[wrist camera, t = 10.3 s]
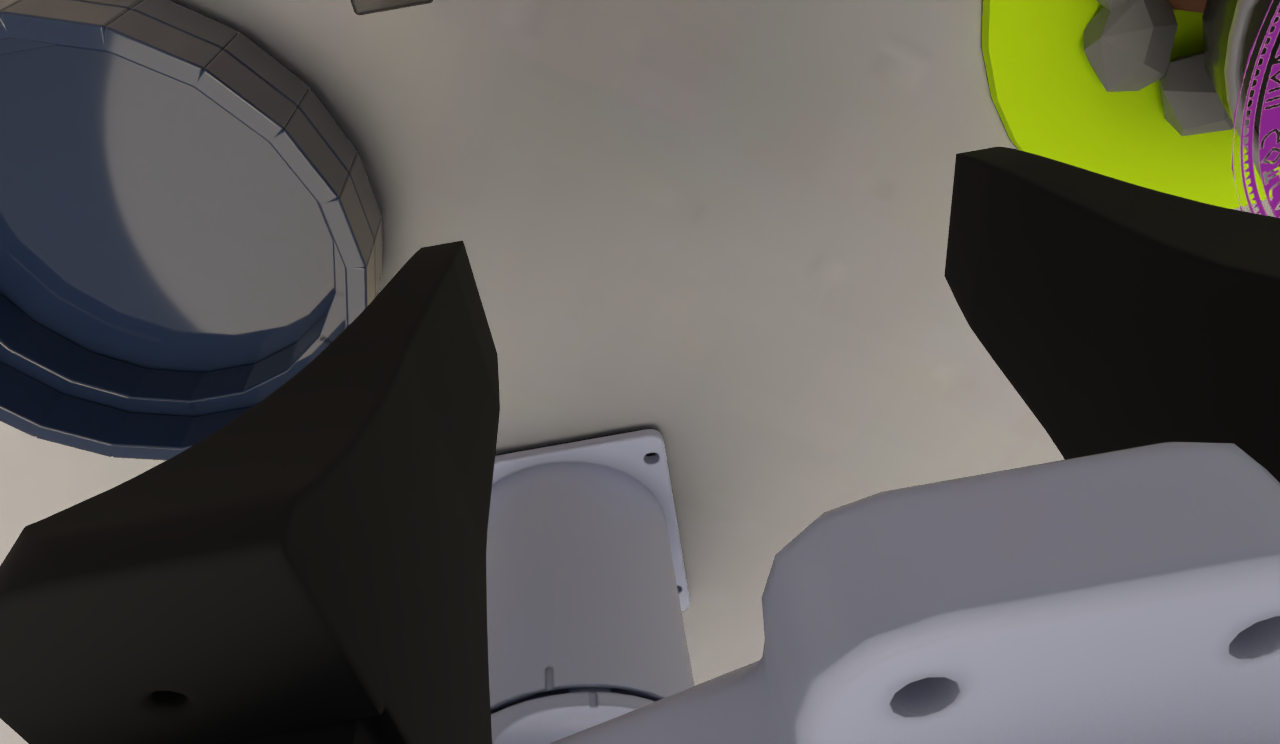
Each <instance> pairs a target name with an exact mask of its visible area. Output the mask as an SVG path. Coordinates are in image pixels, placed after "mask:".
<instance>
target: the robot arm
mask: <svg viewBox="0 0 1280 744" xmlns="http://www.w3.org/2000/svg"><path fill="white" fill-rule="evenodd" d="M945 278H946V280H947V282H948V284H949V286H950V288H951V290H952V292H953V294H954V297H955V299H956V301H957V303H958V305H959V307H960V309H961V311H962V312H963V314H964V316H965V318H966V320H967V322H968V324H969V326H970V327H971V329H972V330H973V332H974V333H975V334H976V336H977V337H978V339H979V340H980V342H981V343H982V344H983V346H984V347H985V348H986V350H987V351H988V353H989V354H990V355H991V357H992V358H993V360H994V361H995V362H996V364H997V365H998V366H999V368H1000V369H1001V370H1002V372H1003V373H1004V375H1005V376H1006V377H1007V379H1008V380H1009V381H1010V383H1011V384H1012V385H1013V387H1014V388H1015V389H1016V391H1017V392H1018V393H1019V395H1020V396H1021V397H1022V399H1023V400H1024V401H1025V403H1026V404H1027V406H1028V407H1029V408H1030V410H1031V411H1032V412H1033V414H1034V415H1035V416H1036V418H1037V419H1038V420H1039V422H1040V423H1041V424H1042V426H1043V427H1044V428H1045V430H1046V431H1047V433H1048V434H1049V436H1050V437H1051V439H1052V440H1053V442H1054V443H1055V445H1056V446H1057V448H1058V449H1059V451H1060V452H1061V454H1062V455H1063V457H1064V459H1065V460H1061V461H1055V462H1050V463H1044V464H1038V465H1033V466H1027V467H1021V468H1015V469H1010V470H1004V471H998V472H993V473H987V474H981V475H976V476H970V477H964V478H958V479H953V480H947V481H941V482H936V483H930V484H924V485H919V486H913V487H907V488H901V489H896V490H890V491H884V492H880V493H877V494H875V495H872V496H869V497H866V498H863V499H861V500H858V501H855V502H852V503H850V504H847V505H844V506H841V507H839V508H836V509H833V510H830V511H827V512H825V513H823V514H822V515H821V516H820V517H818V518H817V519H816V520H815V521H814V522H813V523H812V524H810V525H809V526H808V527H807V528H806V529H805V530H804V531H802V532H801V533H800V534H799V535H798V536H797V537H795V538H794V539H793V540H792V541H791V542H790V543H789V544H787V545H786V546H785V547H784V548H783V549H782V550H781V551H780V552H779V553H778V554H776V555H775V558H774V561H773V565H772V568H771V571H770V574H769V577H768V580H767V583H766V586H765V589H764V592H763V596H762V606H763V619H764V631H765V643H764V650H763V657H762V659H761V660H759V661H757V662H754V663H752V664H749V665H747V666H744V667H742V668H739V669H737V670H734V671H732V672H729V673H727V674H724V675H722V676H719V677H717V678H714V679H711V680H709V681H706V682H704V683H701V684H699V685H696V686H694V681H693V675H692V669H691V664H690V658H689V652H688V647H687V641H686V635H685V629H684V624H683V618H682V612H684V611H685V610H687V609H688V608H689V606H690V597H689V591H688V585H687V579H686V573H685V567H684V561H683V555H682V549H681V542H680V536H679V530H678V524H677V518H676V512H675V506H674V500H673V494H672V487H671V481H670V475H669V469H668V463H667V457H666V451H665V445H664V439H663V436H662V434H661V433H660V432H658V431H657V430H653V429H646V430H640V431H634V432H628V433H623V434H617V435H611V436H606V437H600V438H594V439H589V440H583V441H577V442H571V443H566V444H560V445H554V446H549V447H543V448H537V449H532V450H526V451H520V452H514V453H509V454H503V455H497V456H495V453H496V443H497V433H498V422H499V411H500V403H499V378H498V359H497V352H496V349H495V345H494V342H493V339H492V335H491V332H490V329H489V325H488V322H487V319H486V316H485V312H484V309H483V306H482V302H481V299H480V296H479V292H478V289H477V286H476V282H475V279H474V276H473V272H472V269H471V266H470V263H469V259H468V256H467V253H466V249H465V246H464V243H463V241H458V242H452V243H446V244H441V245H435V246H429V247H424V248H421V249H420V250H418V251H417V252H416V253H415V254H414V255H413V256H412V257H411V258H410V259H409V260H408V262H407V263H406V264H405V265H404V266H403V267H402V268H401V269H400V270H399V272H398V273H397V274H396V275H395V276H394V277H393V278H392V280H391V281H390V282H389V283H388V284H387V285H386V286H385V287H384V289H383V290H382V291H381V292H380V293H379V294H378V295H377V296H376V297H375V298H374V300H373V301H372V302H371V303H370V304H369V305H368V306H367V307H366V308H365V309H364V311H363V312H362V313H361V314H360V315H359V316H358V317H357V318H356V319H355V320H354V321H353V322H352V323H351V324H350V325H349V326H348V327H347V328H346V329H345V330H344V331H343V332H342V333H341V334H340V335H339V336H338V337H337V338H336V339H335V340H334V341H332V342H331V343H330V344H329V345H328V346H327V347H326V348H325V349H324V350H323V351H322V352H321V353H320V354H319V355H318V356H317V357H316V358H315V359H314V360H312V361H311V362H310V363H309V364H308V365H307V366H306V367H304V368H303V369H302V370H301V371H300V372H298V373H297V374H296V375H295V376H294V377H292V378H291V379H290V380H288V381H287V382H286V383H285V384H283V385H282V386H281V387H280V388H278V389H277V390H276V391H274V392H273V393H272V394H271V395H269V396H268V397H267V398H265V399H264V400H262V401H261V402H260V403H258V404H257V405H255V406H254V407H252V408H251V409H249V410H248V411H246V412H245V413H243V414H242V415H240V416H239V417H237V418H236V419H234V420H233V421H231V422H230V423H228V424H227V425H225V426H223V427H222V428H220V429H219V430H217V431H216V432H214V433H213V434H211V435H210V436H208V437H207V438H205V439H203V440H202V441H200V442H199V443H197V444H195V445H193V446H192V447H190V448H188V449H186V450H185V451H183V452H181V453H179V454H178V455H176V456H174V457H172V458H171V459H169V460H167V461H165V462H163V463H161V464H159V465H157V466H155V467H154V468H152V469H150V470H148V471H146V472H144V473H142V474H140V475H138V476H137V477H135V478H133V479H131V480H129V481H126V482H124V483H122V484H120V485H118V486H116V487H114V488H112V489H110V490H108V491H106V492H103V493H101V494H99V495H97V496H94V497H92V498H90V499H88V500H85V501H83V502H81V503H79V504H77V505H74V506H72V507H70V508H68V509H65V510H63V511H61V512H59V513H56V514H54V515H52V516H50V517H48V518H45V519H43V520H40V521H38V522H36V523H33V524H31V525H28V526H26V527H25V528H24V529H23V531H22V532H21V534H20V536H19V537H18V539H17V541H16V542H15V544H14V545H13V547H12V549H11V550H10V552H9V553H8V555H7V556H6V558H5V560H4V561H3V563H2V564H1V566H0V718H1V719H2V720H3V721H4V722H5V723H6V724H8V725H9V726H10V727H11V728H12V729H13V730H14V731H15V732H17V733H18V734H19V735H20V736H21V737H22V738H23V739H24V740H25V741H27V742H28V743H29V744H1280V218H1276V217H1271V216H1265V215H1260V214H1254V213H1249V212H1244V211H1238V210H1233V209H1228V208H1224V207H1219V206H1215V205H1210V204H1206V203H1202V202H1198V201H1194V200H1190V199H1186V198H1182V197H1179V196H1175V195H1171V194H1167V193H1163V192H1159V191H1156V190H1152V189H1149V188H1145V187H1142V186H1138V185H1135V184H1131V183H1128V182H1125V181H1121V180H1118V179H1115V178H1111V177H1108V176H1105V175H1102V174H1098V173H1095V172H1092V171H1089V170H1085V169H1082V168H1079V167H1076V166H1073V165H1069V164H1066V163H1063V162H1060V161H1056V160H1053V159H1050V158H1046V157H1043V156H1039V155H1036V154H1032V153H1028V152H1024V151H1020V150H1016V149H1011V148H1005V147H994V148H988V149H982V150H976V151H971V152H965V153H959V154H956V163H955V174H954V184H953V195H952V205H951V215H950V226H949V236H948V246H947V257H946V267H945ZM648 453H656V454H655V455H653V456H646V454H648Z"/></svg>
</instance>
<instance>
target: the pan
mask: <svg viewBox="0 0 1280 744" xmlns="http://www.w3.org/2000/svg"><path fill="white" fill-rule="evenodd" d="M381 279H382V217H381V213H380V210H379V207H378V204H377V202H376V199H375V196H374V193H373V191H372V188H371V185H370V182H369V180H368V177H367V174H366V171H365V168H364V166H363V163H362V160H361V157H360V155H359V153H358V152H357V150H356V148H355V147H354V146H353V144H352V143H351V142H350V140H349V139H348V138H347V136H346V135H345V134H344V132H343V131H342V130H341V128H340V127H339V125H338V124H337V123H336V121H335V120H334V119H333V117H332V116H331V115H330V113H329V112H328V111H327V109H326V108H325V107H324V105H323V104H322V103H321V101H320V100H319V99H318V97H317V96H316V95H315V93H314V92H313V91H312V90H311V89H309V86H308V85H307V84H305V83H304V82H303V81H302V80H300V79H299V78H298V77H297V76H295V75H294V74H293V73H292V72H290V71H289V70H288V69H287V68H285V67H284V66H283V65H281V64H280V63H279V62H278V61H276V60H275V59H274V58H273V57H271V56H270V55H269V54H268V53H266V52H265V51H264V50H262V49H261V48H260V47H259V46H257V45H256V44H255V43H254V42H252V41H251V40H250V39H249V38H247V37H246V36H245V35H243V34H242V33H240V32H239V33H238V31H237V30H235V29H233V28H231V27H228V26H226V25H224V24H222V23H219V22H217V21H215V20H213V19H210V18H208V17H206V16H204V15H201V14H199V13H197V12H195V11H192V10H190V9H188V8H186V7H183V6H181V5H179V4H177V3H174V2H172V1H170V0H0V421H2V422H4V423H6V424H8V425H10V426H12V427H14V428H16V429H18V430H21V431H23V432H25V433H27V434H29V435H31V436H34V437H35V436H36V437H37V438H39V439H43V440H47V441H51V442H55V443H59V444H62V445H66V446H70V447H74V448H78V449H82V450H86V451H90V452H94V453H97V454H101V455H105V456H109V457H112V456H113V457H116V458H135V459H153V460H169V459H171V458H172V457H174V456H176V455H178V454H179V453H181V452H183V451H185V450H186V449H188V448H190V447H192V446H193V445H195V444H197V443H199V442H200V441H202V440H203V439H205V438H207V437H208V436H210V435H211V434H213V433H214V432H216V431H217V430H219V429H220V428H222V427H223V426H225V425H227V424H228V423H230V422H231V421H233V420H234V419H236V418H237V417H239V416H240V415H242V414H243V413H245V412H246V411H248V410H249V409H251V408H252V407H254V406H255V405H257V404H258V403H260V402H261V401H262V400H264V399H265V398H267V397H268V396H269V395H271V394H272V393H273V392H274V391H276V390H277V389H278V388H280V387H281V386H282V385H283V384H285V383H286V382H287V381H288V380H290V379H291V378H292V377H294V376H295V375H296V374H297V373H298V372H300V371H301V370H302V369H303V368H304V367H306V366H307V365H308V364H309V363H310V362H311V361H312V360H314V359H315V358H316V357H317V356H318V355H319V354H320V353H321V352H322V351H323V350H324V349H325V348H326V347H327V346H328V345H329V344H330V343H331V342H332V341H334V340H335V339H336V338H337V337H338V336H339V335H340V334H341V333H342V332H343V331H344V330H345V329H346V328H347V327H348V326H349V325H350V324H351V323H352V322H353V321H354V320H355V319H356V318H357V317H358V316H359V315H360V314H361V313H362V312H363V311H364V309H365V308H366V307H367V306H368V305H369V304H370V303H371V302H372V301H373V300H374V298H375V297H376V296H377V294H378V290H379V286H380V282H381Z"/></svg>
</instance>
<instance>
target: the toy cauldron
mask: <svg viewBox="0 0 1280 744" xmlns="http://www.w3.org/2000/svg"><path fill="white" fill-rule="evenodd" d="M982 50H983V56H984V61H985V67H986V72H987V77H988V83H989V88H990V94H991V98H992V100H993V102H994V105H995V107H996V109H997V111H998V114H999V116H1000V118H1001V120H1002V123H1003V125H1004V127H1005V129H1006V132H1007V134H1008V136H1009V138H1010V140H1011V141H1012V143H1013V144H1014V145H1015V146H1016V147H1017V149H1018V150H1020V151H1024V152H1028V153H1032V154H1036V155H1039V156H1043V157H1046V158H1050V159H1053V160H1056V161H1060V162H1063V163H1066V164H1069V165H1073V166H1076V167H1079V168H1082V169H1085V170H1089V171H1092V172H1095V173H1098V174H1102V175H1105V176H1108V177H1111V178H1115V179H1118V180H1121V181H1125V182H1128V183H1131V184H1135V185H1138V186H1142V187H1145V188H1149V189H1152V190H1156V191H1159V192H1163V193H1167V194H1171V195H1175V196H1179V197H1182V198H1186V199H1190V200H1194V201H1198V202H1202V203H1206V204H1210V205H1215V206H1219V207H1224V208H1228V209H1234V208H1238V207H1240V209H1241V211H1242V208H1241V207H1242V206H1246V205H1248V206H1249V208H1250V211H1251V213H1254V210H1253V208H1252V205H1251V204H1254V203H1256V205H1255V207H1254V208H1256V207H1258V209H1259V211H1258V212H1257V214H1259V213H1261V215H1265V216H1268V215H1267V214H1266V211H1265V210H1264V207H1263V205H1262V202H1261V201H1262V200H1265V199H1267V201H1268V202H1269V206H1270V207H1271V210H1272V211H1273V214H1274V216H1275V217H1276V218H1279V217H1280V209H1278V210H1275V208H1276V207H1277V205H1278V204H1279V203H1280V0H983V10H982ZM1270 197H1273V199H1272V200H1270ZM1279 207H1280V206H1279ZM1254 214H1255V213H1254Z"/></svg>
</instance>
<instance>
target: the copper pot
mask: <svg viewBox="0 0 1280 744" xmlns="http://www.w3.org/2000/svg"><path fill="white" fill-rule="evenodd" d="M432 1H433V0H351V3H352V6H353V9H354V12H355V13H356V14H357V15H365V14H370V13H376V12H382V11H387V10H393V9H399V8H404V7H410V6H416V5H421V4H427V3H431V2H432Z"/></svg>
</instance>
